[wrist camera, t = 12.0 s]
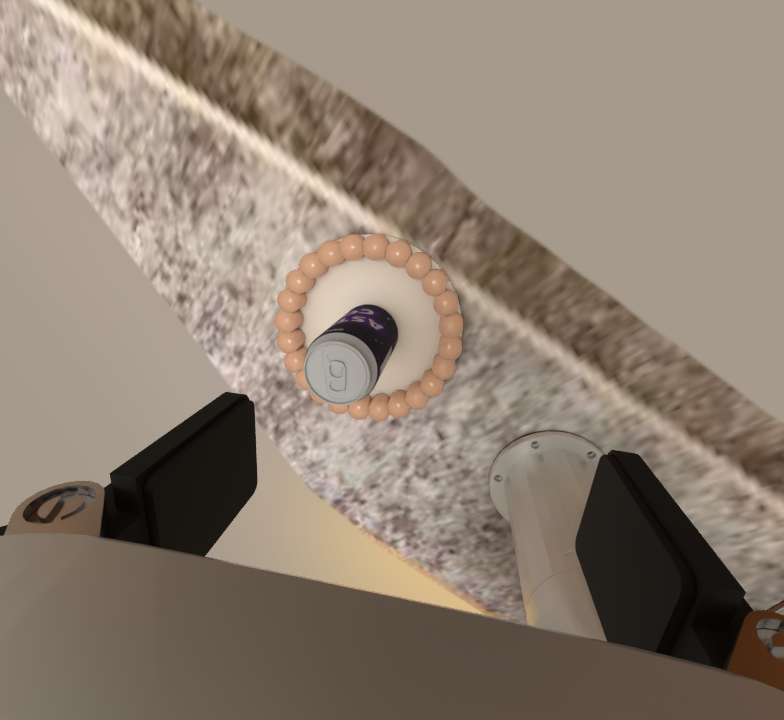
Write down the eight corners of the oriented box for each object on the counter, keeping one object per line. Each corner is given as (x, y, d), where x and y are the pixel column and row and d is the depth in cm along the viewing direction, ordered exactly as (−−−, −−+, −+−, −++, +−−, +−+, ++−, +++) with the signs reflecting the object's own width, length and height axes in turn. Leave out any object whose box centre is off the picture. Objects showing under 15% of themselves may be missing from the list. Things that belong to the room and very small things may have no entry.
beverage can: (401, 305, 38) (378, 340, 26) (397, 361, 40) (373, 415, 28) (344, 299, 38) (297, 331, 27) (342, 354, 40) (298, 404, 29)
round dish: (479, 246, 36) (481, 248, 33) (446, 421, 42) (445, 436, 39) (289, 221, 38) (275, 221, 35) (284, 392, 44) (273, 403, 41)
